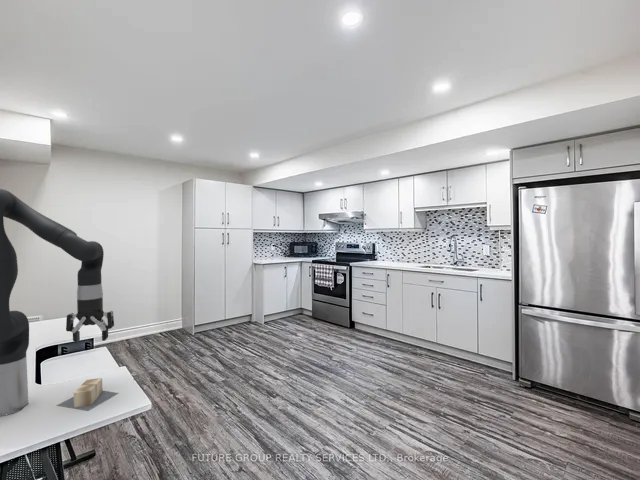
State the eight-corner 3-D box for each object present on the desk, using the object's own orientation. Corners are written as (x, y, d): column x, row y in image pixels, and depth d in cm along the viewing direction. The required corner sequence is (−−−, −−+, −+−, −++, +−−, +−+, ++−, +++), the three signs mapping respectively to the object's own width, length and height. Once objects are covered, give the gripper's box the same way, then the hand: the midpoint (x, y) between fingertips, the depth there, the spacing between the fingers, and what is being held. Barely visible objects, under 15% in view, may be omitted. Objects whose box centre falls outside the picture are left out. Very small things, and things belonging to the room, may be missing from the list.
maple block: (87, 393, 119) (74, 407, 109) (86, 379, 119) (73, 393, 109) (102, 391, 120) (90, 405, 111) (102, 377, 120) (90, 391, 111)
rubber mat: (56, 407, 111) (56, 405, 111) (89, 390, 122) (89, 388, 122) (88, 412, 107) (88, 410, 107) (119, 394, 119) (119, 393, 119)
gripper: (61, 300, 111) (62, 346, 111) (108, 297, 115) (109, 343, 115) (72, 295, 118) (73, 339, 119) (116, 293, 122) (116, 336, 122)
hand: (91, 341), depth 117 cm, fingers open, 8 cm apart
